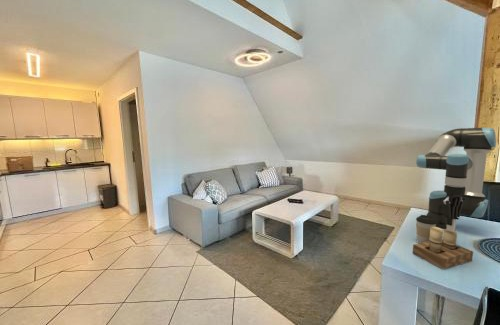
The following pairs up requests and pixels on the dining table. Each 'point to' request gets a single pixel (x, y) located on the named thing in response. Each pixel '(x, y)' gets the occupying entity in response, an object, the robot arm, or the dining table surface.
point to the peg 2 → (449, 239)
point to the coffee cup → (424, 227)
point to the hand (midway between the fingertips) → (450, 230)
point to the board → (443, 255)
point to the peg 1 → (435, 239)
